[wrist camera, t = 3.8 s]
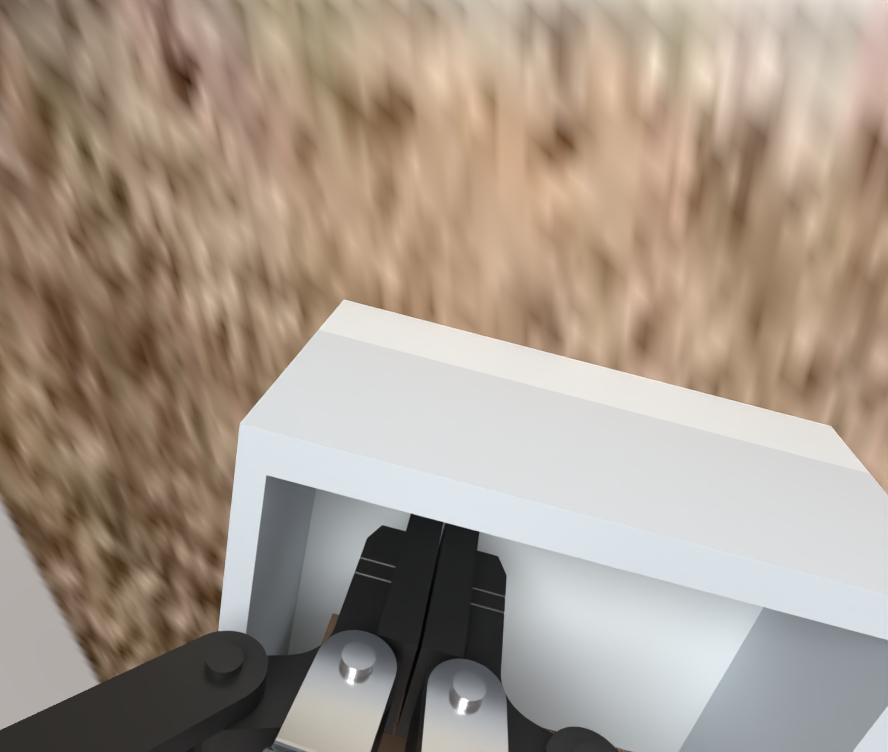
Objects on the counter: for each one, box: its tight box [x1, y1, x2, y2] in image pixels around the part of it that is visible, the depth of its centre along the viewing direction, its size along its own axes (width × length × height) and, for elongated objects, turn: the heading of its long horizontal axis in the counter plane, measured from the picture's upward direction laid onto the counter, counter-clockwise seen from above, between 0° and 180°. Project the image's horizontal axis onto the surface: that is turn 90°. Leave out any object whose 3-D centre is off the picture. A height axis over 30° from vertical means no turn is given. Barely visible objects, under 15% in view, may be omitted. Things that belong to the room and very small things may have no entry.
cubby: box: [218, 300, 888, 752], centre depth 17 cm, size 12×19×6 cm, turn 167°
